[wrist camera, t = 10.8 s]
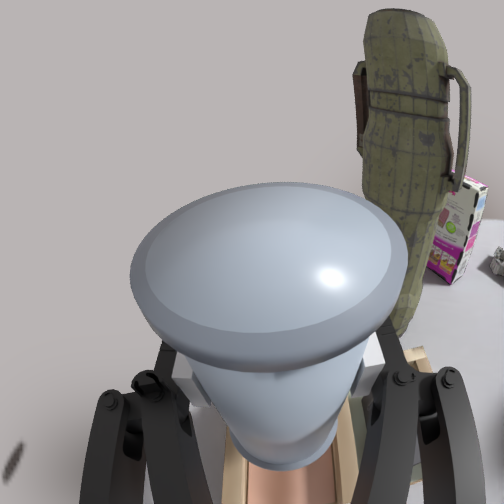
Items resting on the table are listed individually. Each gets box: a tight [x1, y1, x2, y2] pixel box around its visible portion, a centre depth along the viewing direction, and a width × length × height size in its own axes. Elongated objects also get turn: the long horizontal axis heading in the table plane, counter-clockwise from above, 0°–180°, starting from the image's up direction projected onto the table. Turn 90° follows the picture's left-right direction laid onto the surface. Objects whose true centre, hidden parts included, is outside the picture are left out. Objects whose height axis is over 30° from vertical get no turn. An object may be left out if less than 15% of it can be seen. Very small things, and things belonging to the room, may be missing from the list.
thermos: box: [353, 8, 471, 338], centre depth 23 cm, size 9×12×35 cm
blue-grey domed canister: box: [130, 182, 408, 471], centre depth 11 cm, size 7×7×14 cm
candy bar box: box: [427, 170, 489, 285], centre depth 34 cm, size 11×5×16 cm, turn 22°
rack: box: [221, 346, 433, 504], centre depth 19 cm, size 20×14×4 cm
